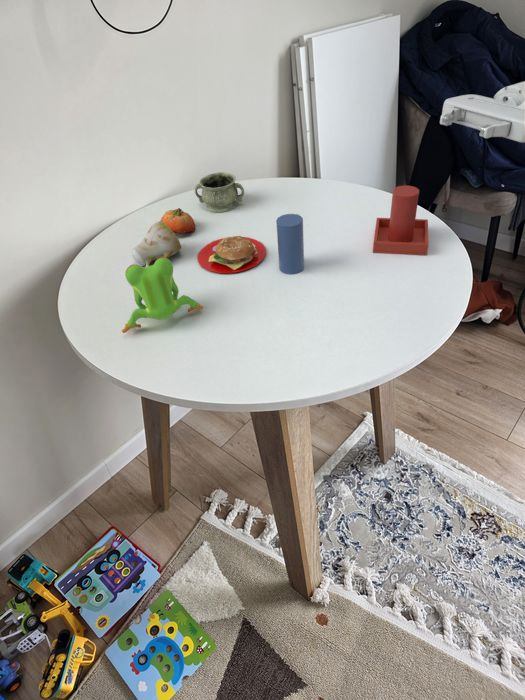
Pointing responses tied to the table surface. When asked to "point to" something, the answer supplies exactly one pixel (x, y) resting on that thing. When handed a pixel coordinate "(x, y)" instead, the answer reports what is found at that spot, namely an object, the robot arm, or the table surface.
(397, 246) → the red tray
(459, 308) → the table surface
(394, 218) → the red canister
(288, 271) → the blue canister
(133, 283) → the toy
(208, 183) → the vessel
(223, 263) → the hamburger
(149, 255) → the mug
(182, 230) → the tomato
